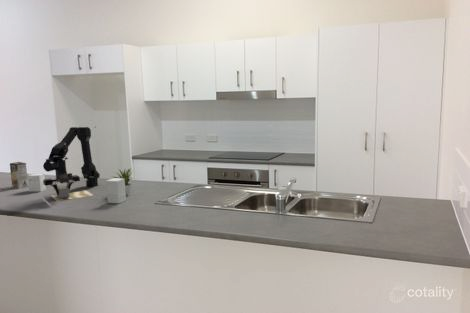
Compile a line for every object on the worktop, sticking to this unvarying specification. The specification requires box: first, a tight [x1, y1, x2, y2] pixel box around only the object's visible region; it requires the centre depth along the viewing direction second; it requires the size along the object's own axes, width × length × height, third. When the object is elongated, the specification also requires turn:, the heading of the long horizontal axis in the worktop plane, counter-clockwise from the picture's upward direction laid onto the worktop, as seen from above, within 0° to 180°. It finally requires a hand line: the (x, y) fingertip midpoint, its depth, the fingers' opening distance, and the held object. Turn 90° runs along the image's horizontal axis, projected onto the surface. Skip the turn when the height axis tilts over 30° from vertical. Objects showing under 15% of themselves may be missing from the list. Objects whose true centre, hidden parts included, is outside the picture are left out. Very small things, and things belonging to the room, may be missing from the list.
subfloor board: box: [51, 190, 94, 202], centre depth 227 cm, size 20×16×1 cm
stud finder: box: [56, 185, 70, 198], centre depth 224 cm, size 5×9×5 cm, turn 37°
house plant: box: [112, 167, 133, 197], centre depth 231 cm, size 14×14×16 cm
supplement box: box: [105, 177, 127, 204], centre depth 215 cm, size 7×7×13 cm
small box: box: [27, 173, 47, 193], centre depth 244 cm, size 8×6×10 cm
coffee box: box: [9, 161, 29, 189], centre depth 255 cm, size 9×6×16 cm
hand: (63, 194), depth 224 cm, fingers closed on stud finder, 5 cm apart
